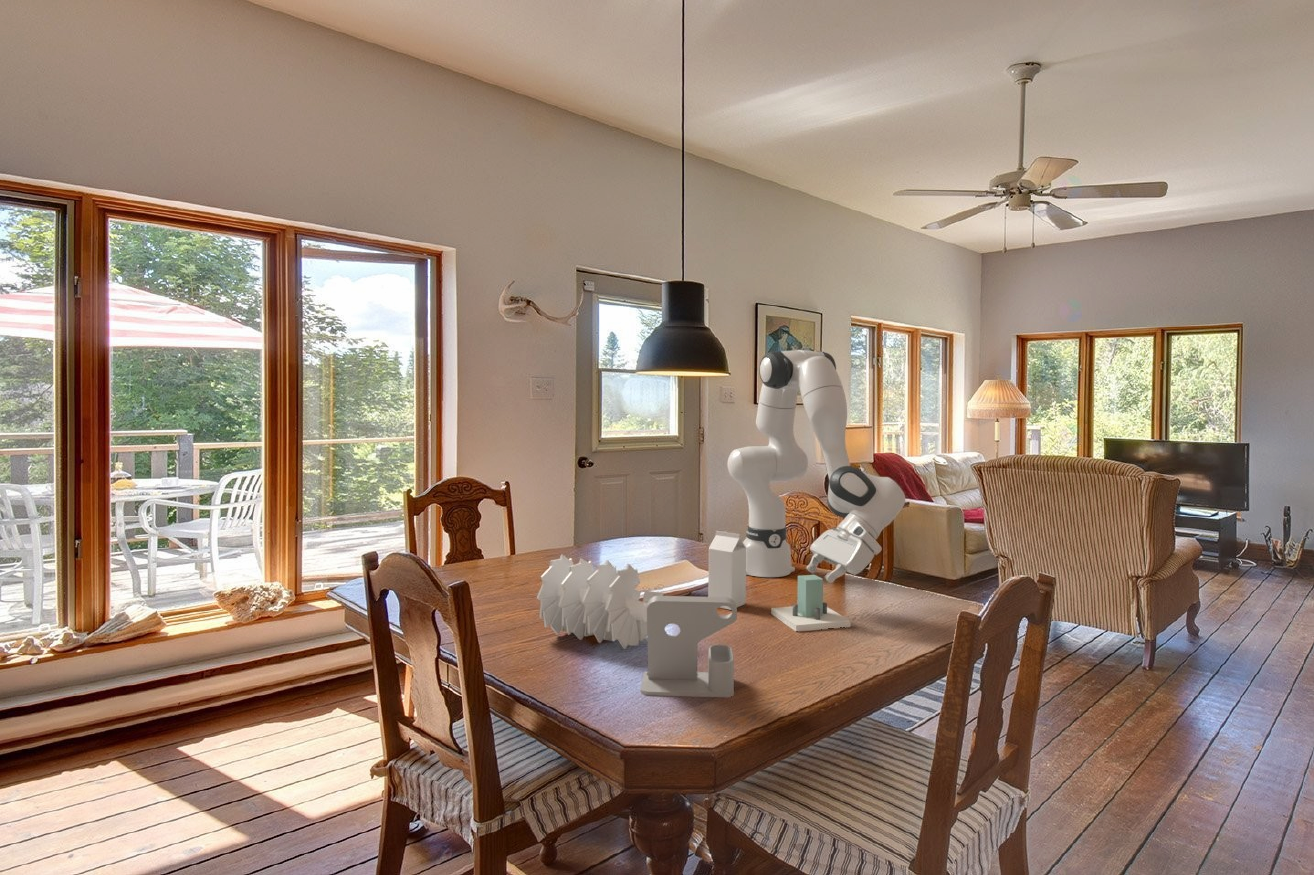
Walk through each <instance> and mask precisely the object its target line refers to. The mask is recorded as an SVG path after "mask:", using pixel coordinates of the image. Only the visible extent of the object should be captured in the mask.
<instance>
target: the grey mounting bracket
mask: <svg viewBox="0 0 1314 875" xmlns="http://www.w3.org/2000/svg"><path fill="white" fill-rule="evenodd" d="M721 606H728V607H730V608H731V610H730V611H731V613H729V614H725V615H724V614H723V615H722V614H719V613H717V612H718V609H720V608H719V607H721ZM737 608H738V607H737V606H736V603H735V601H734V600H732V599H731V598H727V597H708V596H689V595H688V596H684V595H683V596H682V595H663V596H654V597H652V598H651V599H650V600H649V601H648V604H647V637H646V638H647V671H644V672H643V674H642V680H641V684H640V693H641V695H643V696H660V697H661V696H662V697H664V696H666V697H667V696H668V697H698V698H699V697H700V698H701V697H703V698H731V696H732V697H734V696H735V691H734V690H735V689H734V686H735V685H734V684H735V682H734V681H735V674H734V673H735V672H734V671H735V658H734V650H733V649H732V647H731V646H729V645H725V644H714V645H710V646H709V647H708V654H707V656H708V660H707V663H708V664H707V667H708V670H707V671H703V672H702V671H701V672H700V671H698V649H699V648H698V646H699V645H698V644H699V643H700V642H701V641H702V640H704V639H706V638H708V637H710V636H712V635H714V634H715V633H717V632H719V631H721V630H723V629H724V628H727V627H728V626H730V625H732V624H734V623H735V622H736V621H737V619H738V609H737ZM670 624H672V625H673V624H674V625H677V626H678V627H679V629H680V630H679V632H678V633H677V634H674V635H670V634H668V632H667V631H666V629H665V628H666V627H667V626H668V625H670Z"/></svg>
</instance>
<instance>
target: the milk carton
mask: <svg viewBox="0 0 1314 875" xmlns="http://www.w3.org/2000/svg"><path fill="white" fill-rule="evenodd" d="M740 537H741V534H740V533H734V532H726V531H720V530H719V531H718V530H716V531H715V536H714V538H713V540H712V542H711V543H710V545H709V547H708V575H707V576H708V585H707V587H708V590H707V591H708V593H707V594H708V595H707V597H727V598H731V599H732V600H734V601H735V603H736V606H737V608H739V607H741V606H744V605H745V604H746V603H747V601H746V600H747V599H746V598H747V591H746V590H747V584H746V583H747V575H746V546H745V545H744V544H743V541H742V539H741V538H740ZM718 609H724V610H730V611H732V610H731V608H730V607H728V606H721V607H719V608H718Z"/></svg>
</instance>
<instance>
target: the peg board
mask: <svg viewBox="0 0 1314 875" xmlns="http://www.w3.org/2000/svg"><path fill="white" fill-rule="evenodd" d="M770 611H771V613H770V614H771V615H772V616H773V617H775V618H776V619H778V620H779V621H780V622H781V623H783V624H785V625H786V626H787V627H788V628H790V629H792V630H793V631H794V632H796V631H798V632H808V631H809V632H810V631H819V630H821V629H822V630H829V629H828V628H834V629H842V628H843V627H845V628H851V626H852V625H851V622H852V621H851V620H850V619H849V618H846V617H845V616H844V615H841V614H840V613H838V612H836V611H835V610H833V609H831V608H829V607H828V602H826V601H823V616H820V608H815V617H806V618H805V617H804V616H802V615H801V614H799V613H798V605H797V604H792V606H783V607H781V606H780V607H771V610H770ZM840 627H842V628H840ZM843 629H844V628H843Z"/></svg>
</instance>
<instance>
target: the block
mask: <svg viewBox="0 0 1314 875" xmlns="http://www.w3.org/2000/svg"><path fill="white" fill-rule="evenodd" d="M796 592H797V593H796V594H797V596H796V597H797V604H796V605H798V613H799V614H801V615H802V616H804V617H805V618H806V617H815V608H820V616H823V602H824V579H823V578H822V577H820V576H818V575H816V574H807V575H806V574H805V575H803V574H802V575H797V591H796Z"/></svg>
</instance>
